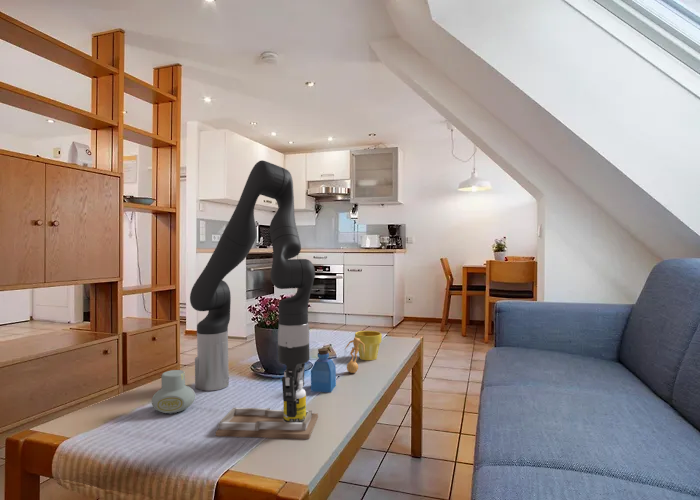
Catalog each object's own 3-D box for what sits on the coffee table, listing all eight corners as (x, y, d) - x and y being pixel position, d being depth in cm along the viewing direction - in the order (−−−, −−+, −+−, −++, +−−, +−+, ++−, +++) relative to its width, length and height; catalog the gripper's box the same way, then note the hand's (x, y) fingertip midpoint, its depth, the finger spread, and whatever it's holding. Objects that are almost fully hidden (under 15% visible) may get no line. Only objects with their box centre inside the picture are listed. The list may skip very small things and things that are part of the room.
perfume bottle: (331, 392, 128) (330, 352, 128) (311, 391, 129) (310, 351, 129) (335, 385, 134) (335, 347, 134) (316, 384, 135) (316, 346, 135)
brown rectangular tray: (215, 436, 100) (215, 425, 99) (234, 415, 111) (234, 405, 111) (309, 438, 97) (309, 427, 97) (318, 417, 109) (317, 407, 109)
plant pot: (386, 357, 167) (386, 331, 167) (373, 363, 158) (373, 337, 158) (363, 353, 172) (363, 329, 172) (350, 359, 164) (349, 334, 163)
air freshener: (197, 402, 121) (197, 367, 121) (192, 413, 113) (191, 376, 113) (156, 405, 119) (156, 369, 119) (148, 417, 111) (147, 378, 111)
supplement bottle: (287, 428, 100) (287, 386, 100) (280, 419, 105) (280, 379, 105) (309, 423, 103) (309, 382, 103) (301, 415, 108) (300, 376, 107)
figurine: (339, 372, 148) (338, 337, 148) (349, 368, 153) (349, 334, 152) (359, 376, 143) (358, 340, 143) (369, 372, 148) (368, 337, 147)
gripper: (285, 335, 111) (286, 400, 111) (270, 348, 97) (271, 423, 97) (314, 335, 110) (315, 400, 111) (302, 349, 96) (303, 424, 96)
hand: (294, 411), depth 104 cm, fingers closed on supplement bottle, 5 cm apart
